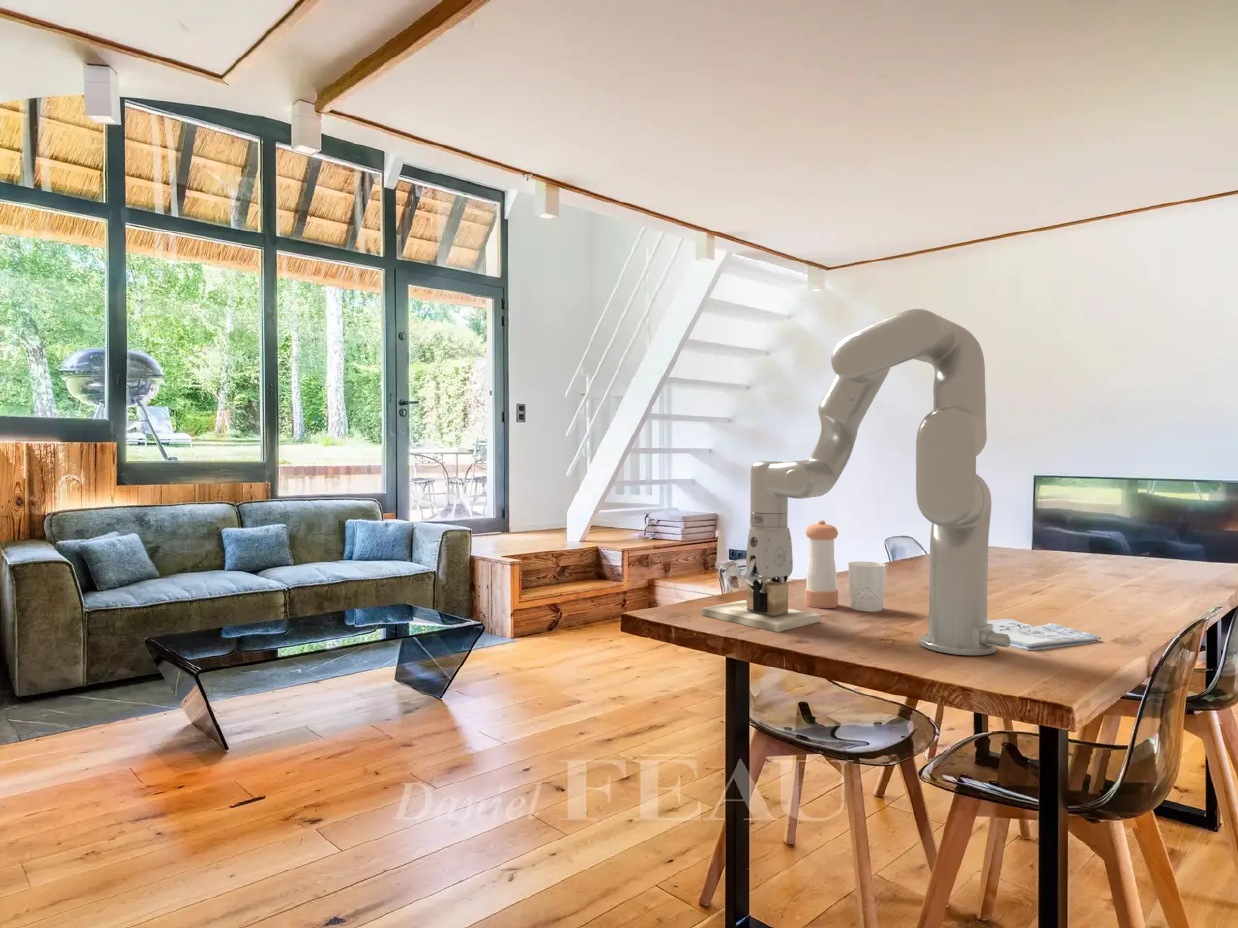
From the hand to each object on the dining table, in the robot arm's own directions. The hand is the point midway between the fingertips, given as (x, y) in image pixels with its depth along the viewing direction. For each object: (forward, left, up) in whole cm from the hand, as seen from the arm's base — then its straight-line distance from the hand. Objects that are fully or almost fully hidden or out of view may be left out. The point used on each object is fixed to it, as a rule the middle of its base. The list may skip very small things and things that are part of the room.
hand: (768, 608), depth 161 cm
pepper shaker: (+2, -22, -3) cm, 22 cm away
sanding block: (0, 0, -1) cm, 1 cm away
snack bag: (-39, -27, -3) cm, 47 cm away
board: (+2, 0, -2) cm, 3 cm away
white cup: (-7, -26, -3) cm, 27 cm away
